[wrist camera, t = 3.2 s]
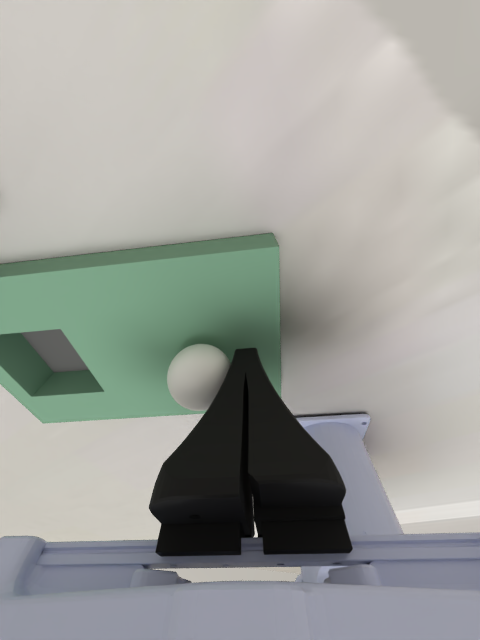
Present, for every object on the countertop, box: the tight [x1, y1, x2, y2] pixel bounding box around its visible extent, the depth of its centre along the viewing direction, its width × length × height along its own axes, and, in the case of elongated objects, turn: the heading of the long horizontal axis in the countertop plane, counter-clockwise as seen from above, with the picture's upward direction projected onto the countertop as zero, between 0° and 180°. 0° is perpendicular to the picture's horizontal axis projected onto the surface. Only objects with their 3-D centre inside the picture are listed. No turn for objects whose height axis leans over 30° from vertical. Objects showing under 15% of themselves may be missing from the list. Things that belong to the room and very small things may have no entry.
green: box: [0, 233, 281, 423], centre depth 15 cm, size 12×19×2 cm, turn 96°
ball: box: [167, 344, 231, 411], centre depth 12 cm, size 4×4×4 cm
